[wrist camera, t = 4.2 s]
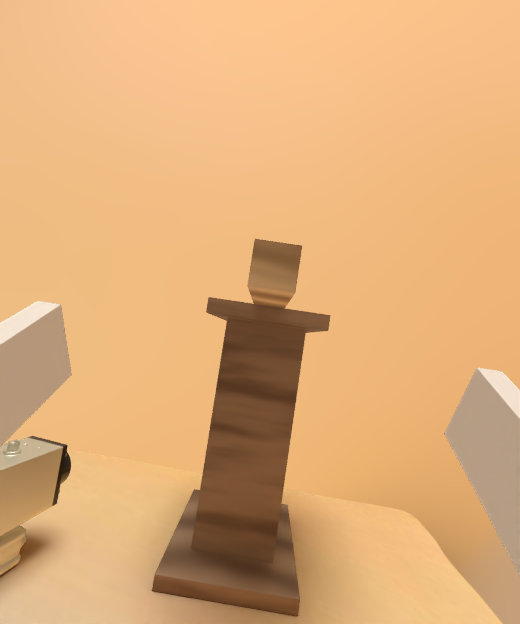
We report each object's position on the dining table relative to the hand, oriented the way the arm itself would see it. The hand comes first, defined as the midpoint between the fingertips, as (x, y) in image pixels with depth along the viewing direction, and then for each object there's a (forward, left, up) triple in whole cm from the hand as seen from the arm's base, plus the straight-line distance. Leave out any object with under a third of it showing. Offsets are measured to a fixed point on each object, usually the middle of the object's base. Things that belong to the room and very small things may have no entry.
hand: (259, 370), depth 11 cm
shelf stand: (-11, +30, -24) cm, 40 cm away
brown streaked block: (-9, +23, +4) cm, 25 cm away
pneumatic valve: (-29, +13, -25) cm, 40 cm away
